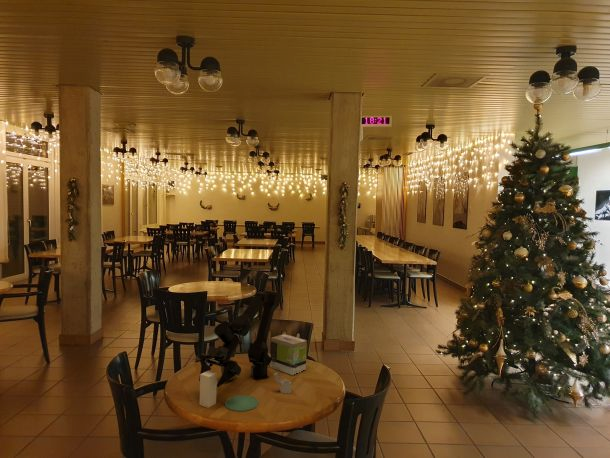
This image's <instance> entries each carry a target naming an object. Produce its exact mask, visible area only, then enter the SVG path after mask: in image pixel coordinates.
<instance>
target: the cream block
mask: <svg viewBox="0 0 610 458" xmlns="http://www.w3.org/2000/svg"><path fill="white" fill-rule="evenodd" d="M199 377H200V381H199V405H200V406H201V407H205V408H210V407H213V406H214V405H216V404H217V388H218V387H217V384H218V373H217V372H214V371H212V370H210V371H206V372H204V373H202V374H200V373H199Z"/></svg>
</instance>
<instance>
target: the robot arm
mask: <svg viewBox="0 0 610 458" xmlns="http://www.w3.org/2000/svg"><path fill="white" fill-rule="evenodd" d="M281 301H282V295H281V292H279V291H275V290H269V289H267V290H265V291H258V292H256V293H255V295H254V297H253V299H252V300H251V301H250V303H249V305H248V306H247V307H246V308H245V310H244V311H243V312H242V314H241V315H239V316H236V318H235V319H233V320H232V322H231V323H230V322H229V321H227V320H223V322H222V323H219V324H217V325H216V326H214V330H213V332H214V334H215V336H216V337H217V338H218V339H219V340H220V342H221V343H222V345H219V346H217V347H215V346H210V345H209V347H208V350H207V351H206V353H200V354H199V355H198V357H197V360H198V361H199V363H200V365H201V366H200V373H199V375H200V374H202V373H204V372H206V371H212V367H213V365H214V366H217V367H220V368H221V367H223V368H224V371H223V374H222V373H221V376H220V377H219V380H218V381H217V387H216V388H220V387H221V386H222V385H224V384H225V383H226V382H229V381H228V380H229V379H231V378H232V377H233V378H234V377H236V376H240V375H241V373H242V368H241V366H240V365H239V364H238V362H237V363H236V362H232V361H230V360H231V359H233V358H235V356H236V355H235V354H234V353H235V352H236V350H237V348H238V347H239V345H240V346H243V340H242V339H243V338H241V337H246V336H247V335H248V334H249V331H250V330H251V328H252V322H253V320H254V319H255V317H256V316H257V314H258V312H259V311H260V310H261V308H263V309H262V314H261V318H260V322H259V326H258V329H257V333H256V337H255V340H254V341H253V342H250V343H249V348H248V349H247V358H248V362H249V363H251V364H252V365H251V367H250V376H251V377H252V378H253V379H255V380H263V379H267V378H269V377H270V376H269V375H268V367H269V366H270V363H271V358H270V357H271V355H269V354H268V353H269V347H268V343H267V341H268V336H269V333H270V329H271V326H272V325H271V324H272V321H273V317H274V312H275V311H276V309H278V307H279V306H280V304H281ZM239 336H241V337H239ZM210 355H211V356H210ZM198 381H199V382H200V376H199V378H198Z"/></svg>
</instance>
